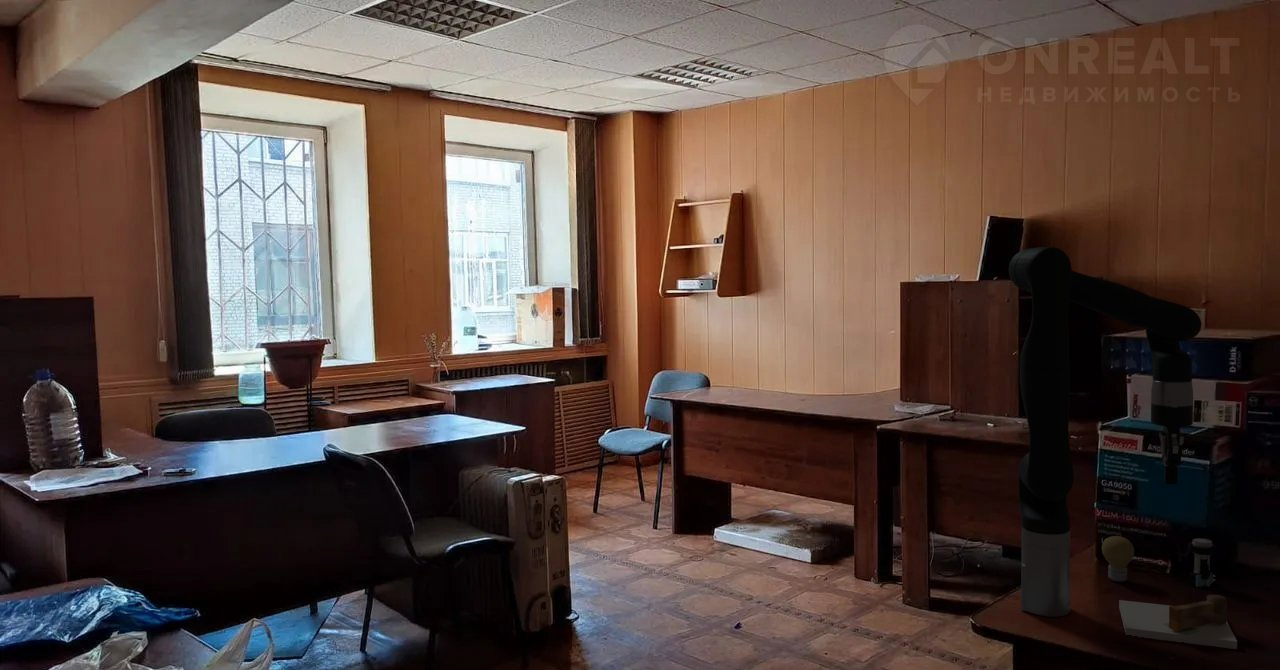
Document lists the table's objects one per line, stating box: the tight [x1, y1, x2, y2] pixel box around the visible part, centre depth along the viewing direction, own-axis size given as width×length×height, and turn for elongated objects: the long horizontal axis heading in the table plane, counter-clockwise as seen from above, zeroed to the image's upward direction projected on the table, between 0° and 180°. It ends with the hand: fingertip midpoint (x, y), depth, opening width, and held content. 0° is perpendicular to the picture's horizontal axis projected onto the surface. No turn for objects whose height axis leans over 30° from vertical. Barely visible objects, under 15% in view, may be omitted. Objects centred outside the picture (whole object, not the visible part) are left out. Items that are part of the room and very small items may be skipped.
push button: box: [1187, 537, 1218, 588], centre depth 193 cm, size 7×5×10 cm
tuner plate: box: [1118, 599, 1238, 650], centre depth 172 cm, size 18×15×2 cm
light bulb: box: [1101, 535, 1135, 583], centre depth 197 cm, size 6×6×10 cm
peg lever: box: [1169, 594, 1228, 631], centre depth 168 cm, size 12×3×5 cm, turn 107°
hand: (1170, 483), depth 183 cm, fingers closed
